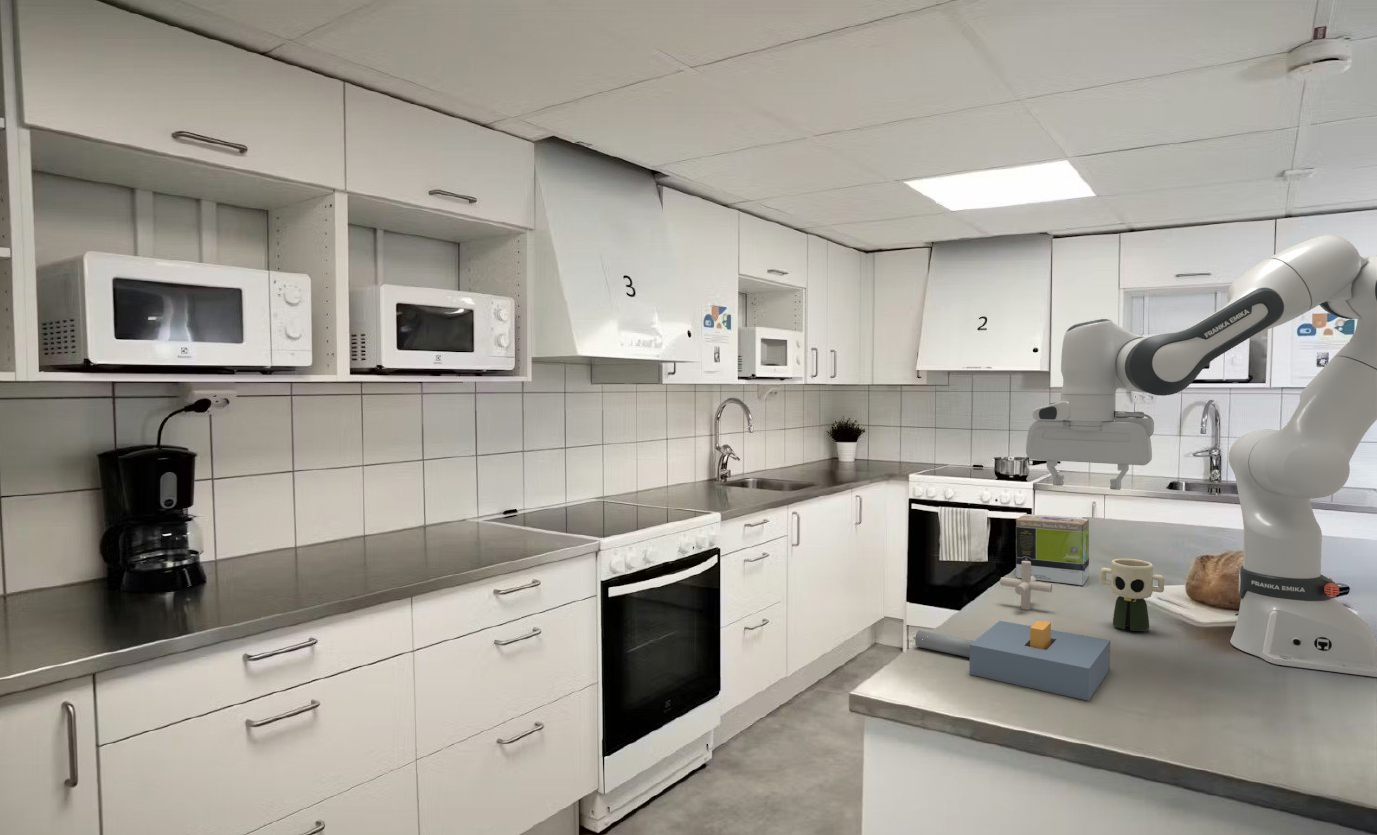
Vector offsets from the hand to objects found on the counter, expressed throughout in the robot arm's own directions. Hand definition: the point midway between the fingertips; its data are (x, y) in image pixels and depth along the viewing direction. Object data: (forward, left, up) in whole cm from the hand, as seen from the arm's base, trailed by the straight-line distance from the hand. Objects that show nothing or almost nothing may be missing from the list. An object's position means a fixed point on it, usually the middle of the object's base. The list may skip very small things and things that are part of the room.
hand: (1086, 487), depth 143 cm
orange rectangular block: (+3, +18, -29) cm, 34 cm away
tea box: (+17, -48, -29) cm, 59 cm away
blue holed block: (+9, +18, -29) cm, 35 cm away
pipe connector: (+15, -18, -29) cm, 38 cm away
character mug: (-5, -16, -29) cm, 34 cm away
